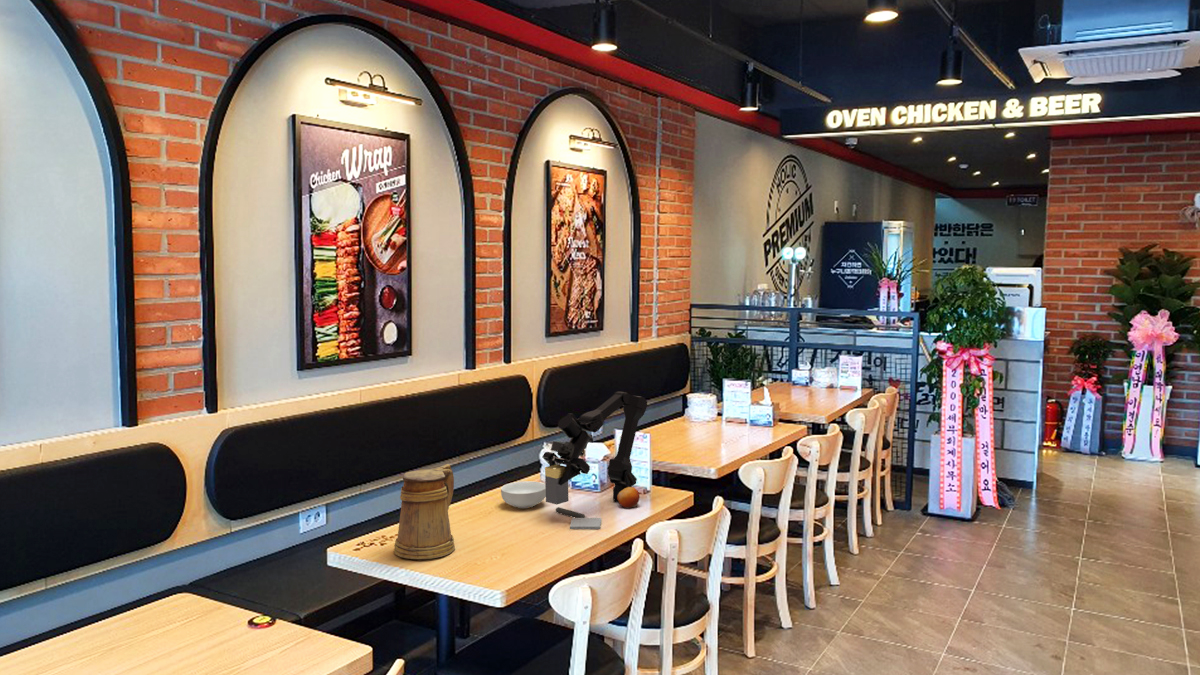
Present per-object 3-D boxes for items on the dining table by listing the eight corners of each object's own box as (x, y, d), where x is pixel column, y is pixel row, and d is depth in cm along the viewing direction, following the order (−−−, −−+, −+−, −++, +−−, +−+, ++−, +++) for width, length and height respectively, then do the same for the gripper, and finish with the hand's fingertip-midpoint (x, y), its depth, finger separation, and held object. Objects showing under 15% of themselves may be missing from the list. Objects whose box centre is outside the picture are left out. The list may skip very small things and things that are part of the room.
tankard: (381, 556, 270) (378, 475, 268) (430, 534, 291) (427, 459, 289) (429, 565, 262) (427, 481, 260) (475, 542, 283) (473, 464, 281)
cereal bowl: (504, 499, 333) (504, 480, 333) (549, 499, 332) (548, 480, 332) (497, 512, 316) (497, 492, 316) (544, 512, 316) (544, 492, 315)
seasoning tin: (557, 498, 308) (556, 464, 307) (568, 501, 305) (567, 466, 304) (545, 501, 305) (545, 467, 303) (556, 504, 301) (556, 469, 300)
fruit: (645, 505, 317) (633, 486, 317) (626, 516, 318) (614, 497, 317) (644, 499, 325) (632, 480, 325) (626, 510, 326) (614, 491, 325)
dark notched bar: (554, 512, 315) (554, 507, 315) (558, 511, 316) (558, 506, 316) (581, 520, 305) (581, 515, 305) (586, 519, 306) (585, 513, 306)
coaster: (601, 520, 304) (601, 517, 304) (600, 529, 294) (600, 526, 294) (572, 520, 305) (572, 517, 304) (569, 529, 295) (569, 526, 295)
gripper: (545, 428, 312) (522, 465, 305) (583, 435, 299) (560, 474, 292) (562, 447, 318) (540, 483, 311) (599, 454, 305) (577, 492, 298)
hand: (553, 483), depth 303 cm, fingers closed on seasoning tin, 5 cm apart
